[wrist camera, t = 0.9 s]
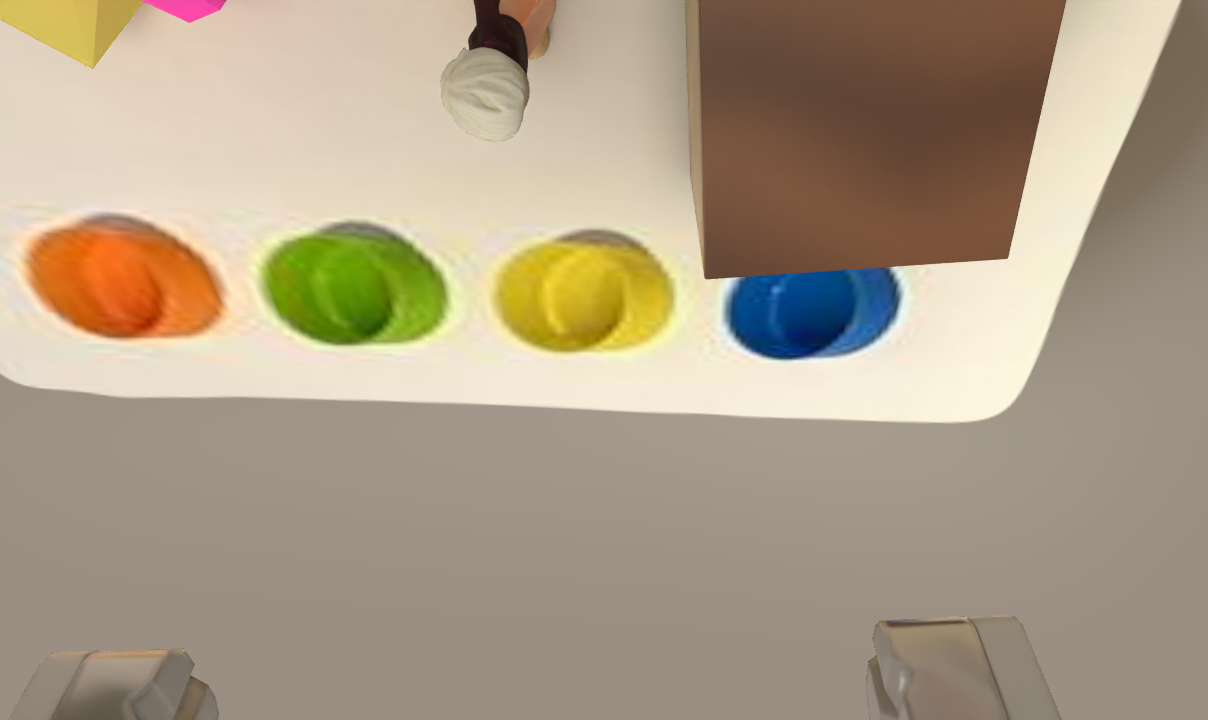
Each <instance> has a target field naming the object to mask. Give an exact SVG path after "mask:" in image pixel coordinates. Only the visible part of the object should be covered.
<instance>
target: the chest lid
mask: <svg viewBox="0 0 1208 720" xmlns="http://www.w3.org/2000/svg"><path fill="white" fill-rule="evenodd" d="M697 3H698V48H699V92H700V137H701V181H702V225H703V270H704V277H705V279H718V278H732V277H747V276H762V275H776V274H791V273H806V272H821V271H835V270H850V269H865V268H880V267H894V266H909V265H924V264H938V263H953V262H968V261H983V260H997V259H1007V258H1008V256H1009V251H1010V247H1011V242H1012V238H1013V234H1014V229H1015V225H1016V220H1017V216H1018V211H1019V207H1020V203H1021V198H1022V194H1023V189H1024V185H1025V180H1026V176H1027V171H1028V167H1029V163H1030V158H1031V154H1032V149H1033V145H1034V140H1035V136H1036V132H1037V127H1038V123H1039V118H1040V114H1041V109H1042V105H1043V101H1044V96H1045V92H1046V87H1047V83H1048V78H1049V74H1050V70H1051V65H1052V61H1053V56H1054V52H1055V47H1056V43H1057V39H1058V34H1059V30H1060V25H1061V21H1062V16H1063V12H1064V8H1065V3H1066V0H697Z"/></svg>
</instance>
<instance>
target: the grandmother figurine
mask: <svg viewBox="0 0 1208 720" xmlns="http://www.w3.org/2000/svg"><path fill="white" fill-rule="evenodd" d="M474 5H475V10H476V21H477V26H476V27H475V29H474V30H473V32H472V33H471V35H470V36H469V39H468V43H469V50H466V49H465V48H463V50H462V51H461V52H460V53H459V55H458V57H457V58H456V59H454V60H452V61H451V62H450V63H449V64H448V66H447V67H446V69H445V70H444V72H443V73H442V76H441V88H442V91H441V98H442V102H443V105H444V106H445V108H446V110H447V111H448V112H449V114H450V115H451V116H452V118H453V119H454V121H455V122H456V124H457V125H458V126H459V127H460V128H461V129H462V130H463V131H465V132H466V133H467V134H469V135H472V136H474V137H477V138H480V139H483V140H487V141H505V140H508V139H510V138H511V137H513V136H514V135H515V134H516V133H517V132H518V130H519V128H520V125H521V122H522V119H523V113H524V109H525V107H526V105H527V102H528V99H529V82H528V79H527V67H528V59H531V60H532V59H536V58H539V57H541V56H542V55H543V54H544V53H545V52H546V50H547V48H548V44H549V32H548V29H547V26H548V24H549V23H550V21H551V19H552V17H553V14H554V12H555V8H556V0H474Z"/></svg>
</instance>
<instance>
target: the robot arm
mask: <svg viewBox="0 0 1208 720" xmlns="http://www.w3.org/2000/svg"><path fill="white" fill-rule="evenodd" d="M873 643H874V647H875V651H876V656H875V657H873V658H872V659H871V660H869V661H868V668H867V675H866V690H867V705H868V711H869V717H870V720H1062V719H1061V717H1060V714H1059V711H1058V709H1057V707H1056V705H1055V702H1054V699H1053V697H1052V695H1051V692H1050V690H1049V687H1048V685H1047V683H1046V680H1045V678H1044V675H1043V673H1042V670H1041V668H1040V666H1039V663H1038V661H1037V659H1036V656H1035V654H1034V652H1033V649H1032V646H1031V644H1030V642H1029V639H1028V637H1027V635H1026V632H1025V630H1024V627H1023V625H1022V624H1021V623H1020V622H1019V621H1018V620H1017V618H1016V617H1014V616H1011V615H1002V616H982V617H965V616H957V617H942V618H941V617H939V618H922V619H903V620H886V621H879V622H878V623H877V624H876V625H875V629H874V634H873ZM194 665H195V664H194V662H193V661H192V659H191V658H190V657H189V655H188V654H187V653H186V651H185V650H184V649H152V650H119V651H98V650H96V651H74V652H53V653H52V654H51V655H50V656H48V657H47V658H46V659H45V660H44V661H43V662H42V663H41V664H40V665H39V666H38V667H37V669H36V671H35V673H34V674H33V676H32V678H31V680H30V682H29V683H28V685H27V687H26V689H25V690H24V692H23V694H22V696H21V697H20V699H19V701H18V703H17V705H16V706H15V708H14V710H13V712H12V714H11V715H10V717H9V719H8V720H218V715H219V712H218V708H217V703H216V698H215V696H214V694H213V693H212V691H211V689H210V687H209V686H208V685H207V684H205V683H204V682H202V681H200V680H198V679H196V678H194V677H192V676H191V672H192V670H193V667H194Z"/></svg>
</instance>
